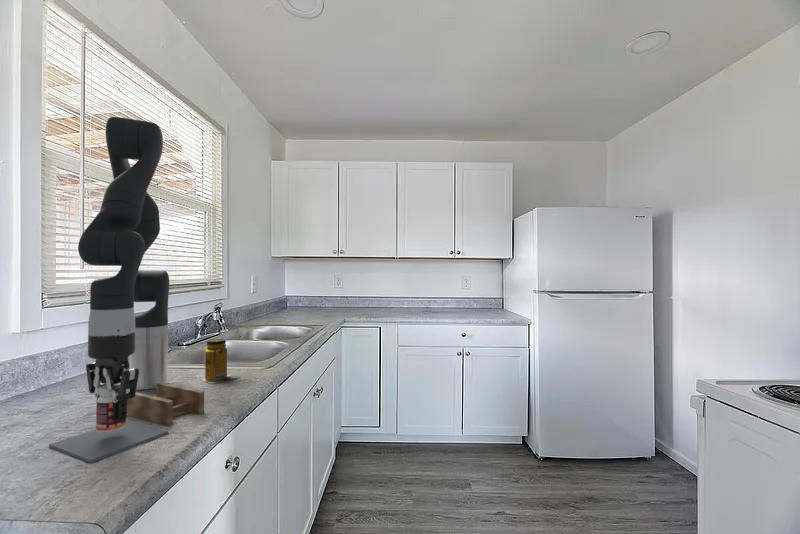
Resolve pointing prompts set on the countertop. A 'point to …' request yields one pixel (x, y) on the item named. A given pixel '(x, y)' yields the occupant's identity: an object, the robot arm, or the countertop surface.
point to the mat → (107, 441)
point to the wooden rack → (166, 403)
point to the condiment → (216, 362)
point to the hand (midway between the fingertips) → (111, 417)
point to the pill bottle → (106, 412)
